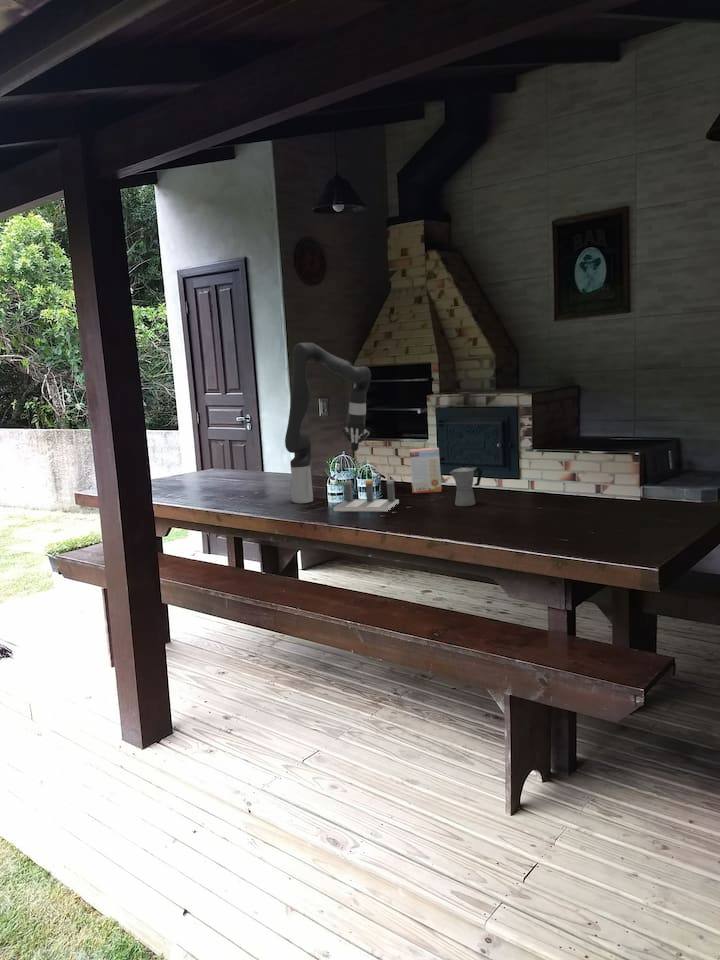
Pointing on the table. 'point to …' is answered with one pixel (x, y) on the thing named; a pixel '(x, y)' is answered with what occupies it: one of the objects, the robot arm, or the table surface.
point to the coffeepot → (465, 484)
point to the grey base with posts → (367, 505)
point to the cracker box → (425, 470)
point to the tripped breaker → (369, 490)
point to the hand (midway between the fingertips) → (354, 450)
